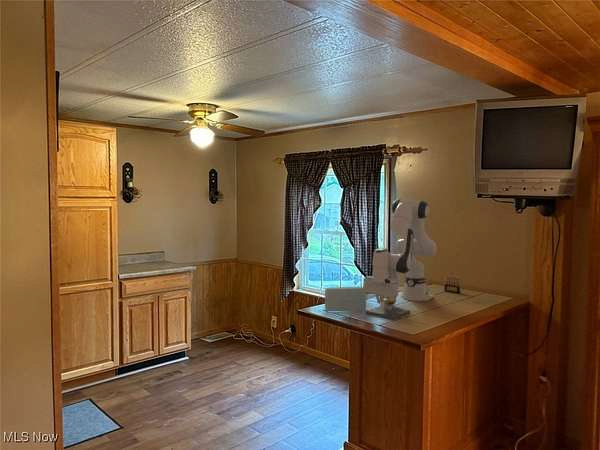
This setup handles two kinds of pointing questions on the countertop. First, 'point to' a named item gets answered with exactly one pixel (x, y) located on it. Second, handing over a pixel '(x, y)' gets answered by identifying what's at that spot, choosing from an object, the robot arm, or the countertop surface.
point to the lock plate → (388, 312)
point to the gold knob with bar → (387, 301)
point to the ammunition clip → (452, 284)
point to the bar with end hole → (345, 299)
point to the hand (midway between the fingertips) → (379, 303)
